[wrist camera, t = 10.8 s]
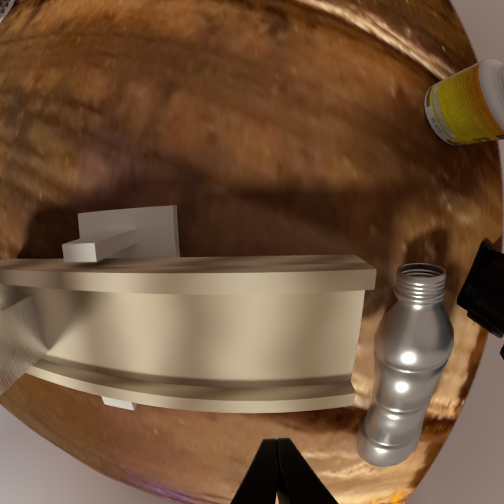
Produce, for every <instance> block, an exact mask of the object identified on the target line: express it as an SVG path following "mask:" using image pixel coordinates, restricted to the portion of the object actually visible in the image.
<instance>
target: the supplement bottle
mask: <svg viewBox="0 0 504 504" xmlns="http://www.w3.org/2000/svg"><path fill="white" fill-rule="evenodd" d="M424 106H425V112H426V116H427V119H428V121H429V123H430V125H431V127H432V129H433V130H434V131H435V133H436V134H437V135H438V136H439V137H440V138H441V139H442V140H443V141H445V142H447V143H448V144H451V145H456V146H458V145H467V144H473V143H479V142H487V141H494V140H501V139H504V64H502V63H501V62H499V61H497V60H495V59H485V60H483V61H480V62H478V63H476V64H474V65H472V66H470V67H468V68H466V69H464V70H462V71H460V72H458V73H456V74H454V75H452V76H450V77H448V78H446V79H444V80H442V81H440V82H438V83H436V84H435V85H433V86H431V87H430V88H429V89H428V91H427V93H426V96H425V100H424Z"/></svg>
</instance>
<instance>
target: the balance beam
mask: <svg viewBox="0 0 504 504" xmlns="http://www.w3.org/2000/svg"><path fill="white" fill-rule="evenodd" d="M376 271H377V269H376V268H374V267H373V266H371V265H370V264H368V263H367V262H365V261H364V260H362V259H361V258H359V257H358V256H356V255H355V254H341V255H291V256H234V257H168V258H104V259H102V260H100V261H98V262H64V259H0V290H4V291H11V292H18V293H26V294H33V297H34V301H35V305H36V309H37V313H38V317H39V320H40V324H41V327H42V330H43V333H44V337H45V340H46V343H47V346H48V349H49V352H47V353H46V354H45V355H44V356H43V357H42V358H41V359H39V360H38V361H37V362H36V363H35V364H34V365H33V366H32V367H30V368H29V369H28V370H27V371H26V372H25V373H28V374H31V375H33V376H36V377H39V378H42V379H44V380H47V381H50V382H53V383H56V384H60V385H63V386H66V387H69V388H73V389H76V390H80V391H84V392H87V393H91V394H95V395H99V396H104V397H108V398H113V399H117V400H122V401H127V402H133V403H138V404H144V405H151V406H158V407H165V408H173V409H182V410H193V411H206V412H226V413H275V412H295V411H308V410H319V409H328V408H336V407H344V406H351V405H353V403H354V399H355V395H356V392H355V390H354V388H353V386H352V383H351V376H352V371H353V366H354V361H355V356H356V350H357V344H358V338H359V332H360V325H361V318H362V310H363V302H364V294H365V290H375V281H376Z"/></svg>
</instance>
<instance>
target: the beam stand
mask: <svg viewBox="0 0 504 504" xmlns="http://www.w3.org/2000/svg"><path fill="white" fill-rule="evenodd" d="M78 223H79V234H80V239H77V240H74V241H71V242H68V243H65V244H62V249H63V256H64V262H98V261H100V260H102V259H104V258H168V257H180V249H179V234H178V216H177V205H169V206H154V207H140V208H128V209H116V210H105V211H95V212H86V213H79V214H78ZM101 397H102V399H103V401H104V404H106V405H111V406H115V407H120V408H125V409H130V410H135V408H136V406H137V404H138V403H133V402H127V401H122V400H117V399H113V398H108V397H104V396H101Z"/></svg>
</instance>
